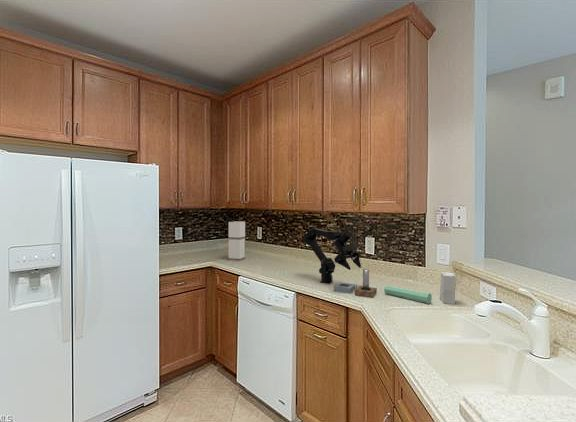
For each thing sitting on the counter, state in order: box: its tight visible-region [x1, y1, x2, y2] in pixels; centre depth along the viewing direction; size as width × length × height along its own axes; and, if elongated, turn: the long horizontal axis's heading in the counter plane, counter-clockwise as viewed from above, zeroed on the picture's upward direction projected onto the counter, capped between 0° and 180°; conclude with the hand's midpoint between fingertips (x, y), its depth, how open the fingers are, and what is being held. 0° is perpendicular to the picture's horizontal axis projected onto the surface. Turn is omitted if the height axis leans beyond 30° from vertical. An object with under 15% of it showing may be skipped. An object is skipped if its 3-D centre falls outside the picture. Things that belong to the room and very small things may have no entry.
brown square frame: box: [354, 285, 378, 299], centre depth 170 cm, size 10×10×3 cm
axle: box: [362, 268, 370, 291], centre depth 170 cm, size 3×3×14 cm
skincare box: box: [439, 271, 457, 305], centre depth 158 cm, size 8×6×15 cm
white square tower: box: [228, 220, 246, 262], centre depth 275 cm, size 11×11×35 cm
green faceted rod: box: [383, 285, 433, 305], centre depth 163 cm, size 6×6×25 cm
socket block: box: [333, 281, 356, 295], centre depth 178 cm, size 10×10×3 cm
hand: (355, 268), depth 176 cm, fingers open, 9 cm apart
